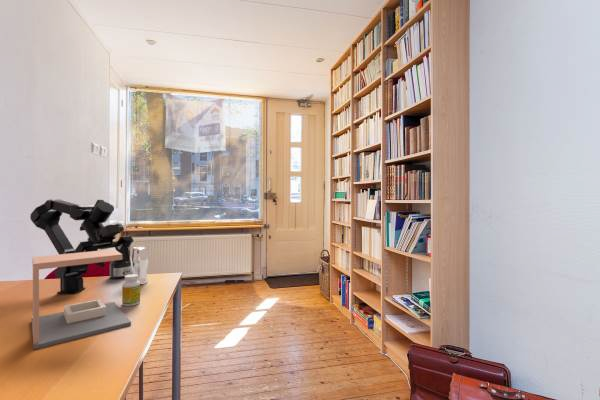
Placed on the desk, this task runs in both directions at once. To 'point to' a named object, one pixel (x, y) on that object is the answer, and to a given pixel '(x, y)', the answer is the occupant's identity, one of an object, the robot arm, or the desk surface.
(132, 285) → the supplement bottle
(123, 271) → the ink bottle
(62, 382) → the desk surface
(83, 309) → the awning socket
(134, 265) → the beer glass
